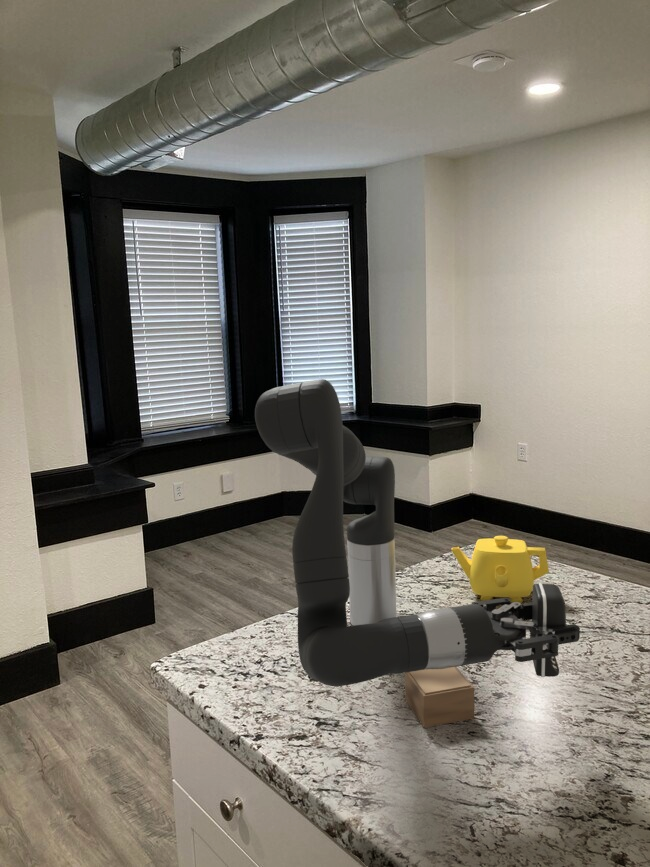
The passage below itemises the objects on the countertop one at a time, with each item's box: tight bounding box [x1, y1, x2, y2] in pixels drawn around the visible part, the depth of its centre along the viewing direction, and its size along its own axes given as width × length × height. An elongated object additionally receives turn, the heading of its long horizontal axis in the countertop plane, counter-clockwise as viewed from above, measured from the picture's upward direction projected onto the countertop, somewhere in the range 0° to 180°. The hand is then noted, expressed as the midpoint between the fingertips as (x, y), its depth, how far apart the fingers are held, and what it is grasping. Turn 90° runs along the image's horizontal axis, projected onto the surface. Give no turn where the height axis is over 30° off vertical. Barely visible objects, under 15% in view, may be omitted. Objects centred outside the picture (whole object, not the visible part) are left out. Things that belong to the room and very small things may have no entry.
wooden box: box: [404, 666, 475, 728], centre depth 108 cm, size 8×8×5 cm
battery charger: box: [531, 582, 567, 678], centre depth 97 cm, size 7×4×11 cm, turn 170°
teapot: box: [451, 535, 550, 604], centre depth 148 cm, size 20×19×13 cm
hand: (561, 620), depth 97 cm, fingers closed on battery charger, 7 cm apart
